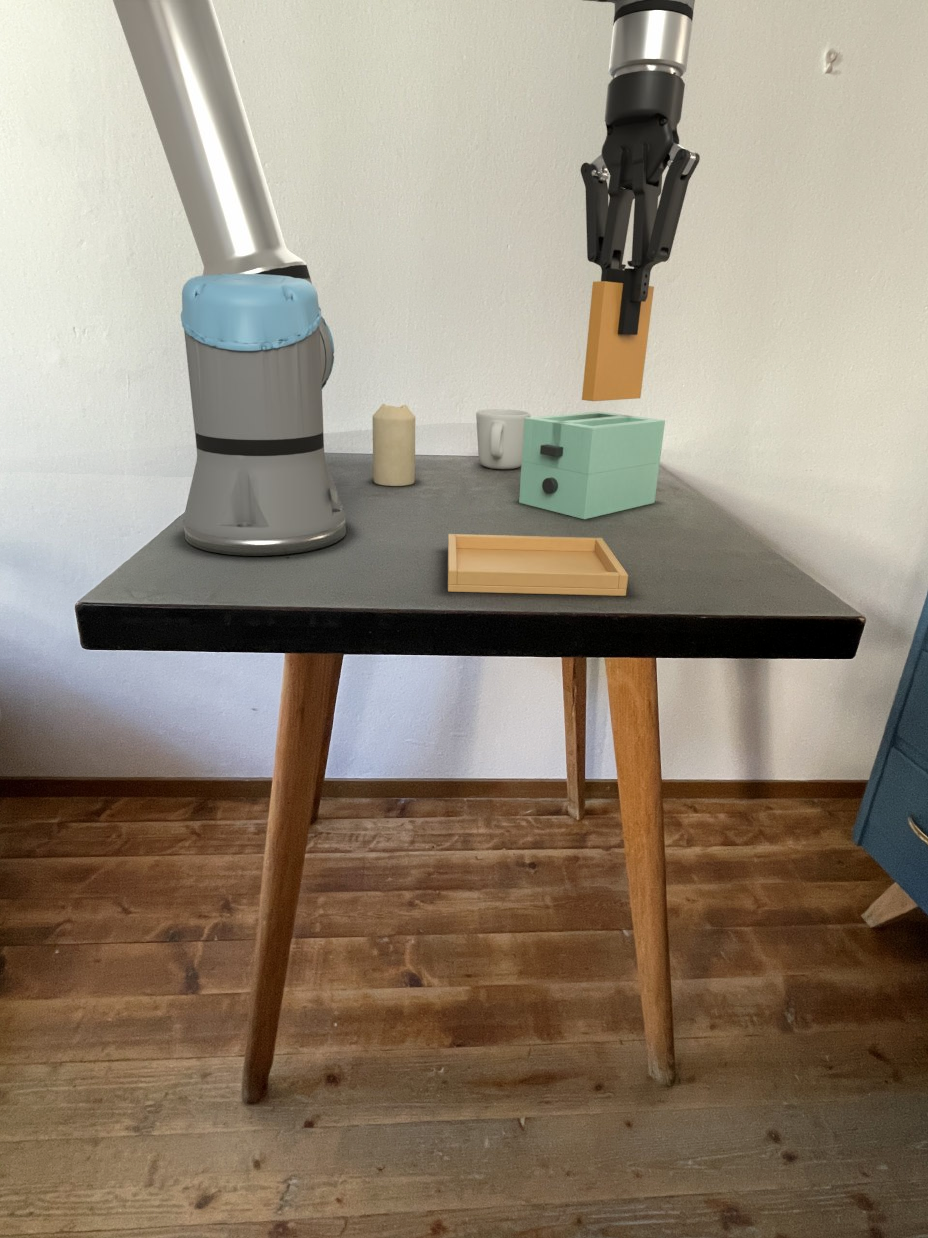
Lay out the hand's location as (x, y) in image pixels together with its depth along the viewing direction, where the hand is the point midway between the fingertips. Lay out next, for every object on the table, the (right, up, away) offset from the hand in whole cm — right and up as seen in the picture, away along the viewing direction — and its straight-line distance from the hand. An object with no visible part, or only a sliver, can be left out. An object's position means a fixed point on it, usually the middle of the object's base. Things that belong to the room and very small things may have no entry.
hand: (619, 333), depth 82 cm
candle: (-26, -14, +17) cm, 34 cm away
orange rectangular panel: (0, -6, +3) cm, 7 cm away
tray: (-11, -28, -17) cm, 34 cm away
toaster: (-2, -17, +9) cm, 20 cm away
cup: (-12, -9, +28) cm, 32 cm away
